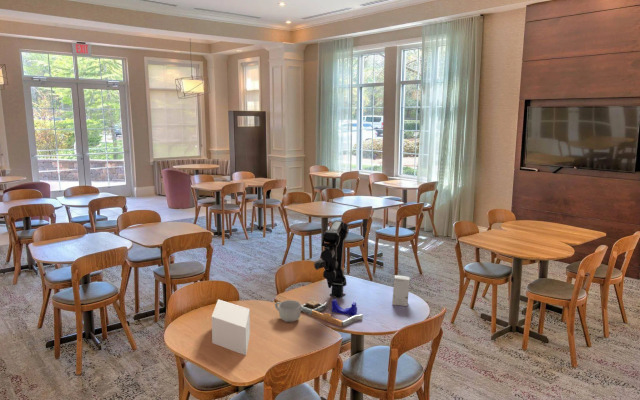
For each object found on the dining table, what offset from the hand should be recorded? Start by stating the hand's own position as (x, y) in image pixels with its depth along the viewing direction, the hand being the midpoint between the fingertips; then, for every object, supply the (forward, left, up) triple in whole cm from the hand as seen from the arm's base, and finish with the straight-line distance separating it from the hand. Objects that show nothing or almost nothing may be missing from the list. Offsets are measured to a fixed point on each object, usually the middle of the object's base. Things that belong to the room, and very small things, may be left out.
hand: (330, 284), depth 246 cm
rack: (+6, +6, -13) cm, 15 cm away
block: (+56, -10, -13) cm, 58 cm away
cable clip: (-2, +8, -13) cm, 16 cm away
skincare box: (-31, +23, -13) cm, 41 cm away
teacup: (+24, -7, -13) cm, 28 cm away
